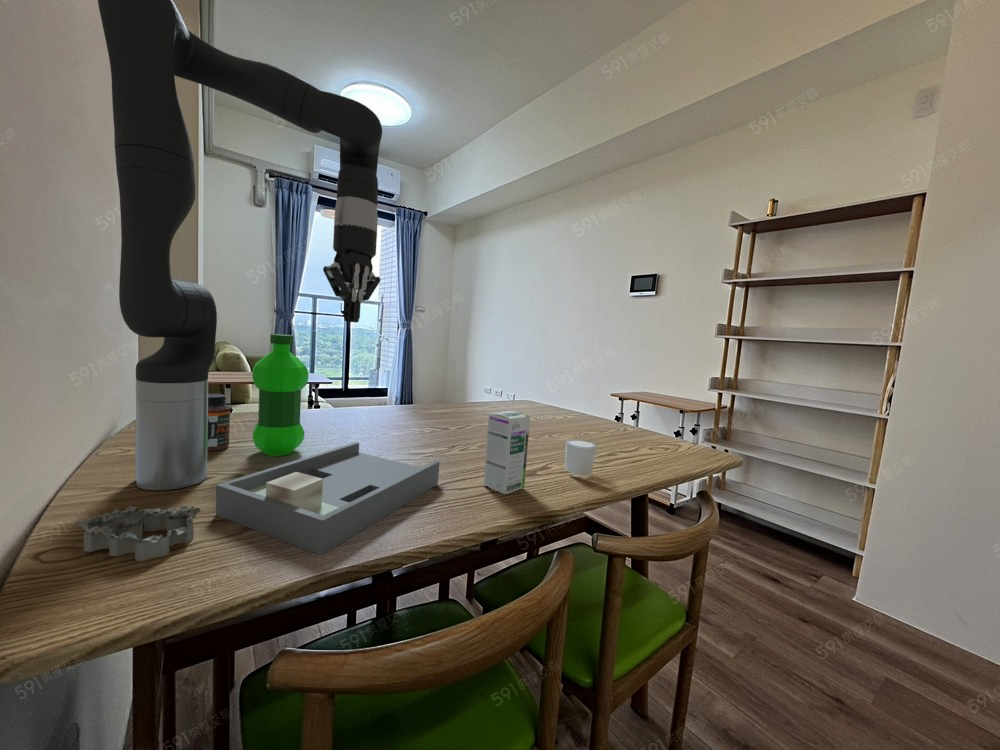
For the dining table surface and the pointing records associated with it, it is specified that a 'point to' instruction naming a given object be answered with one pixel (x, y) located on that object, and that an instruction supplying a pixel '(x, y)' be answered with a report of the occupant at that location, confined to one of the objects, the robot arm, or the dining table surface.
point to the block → (297, 490)
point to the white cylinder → (579, 456)
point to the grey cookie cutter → (138, 531)
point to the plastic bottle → (279, 398)
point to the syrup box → (506, 451)
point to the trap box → (326, 496)
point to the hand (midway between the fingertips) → (351, 321)
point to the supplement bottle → (218, 422)
